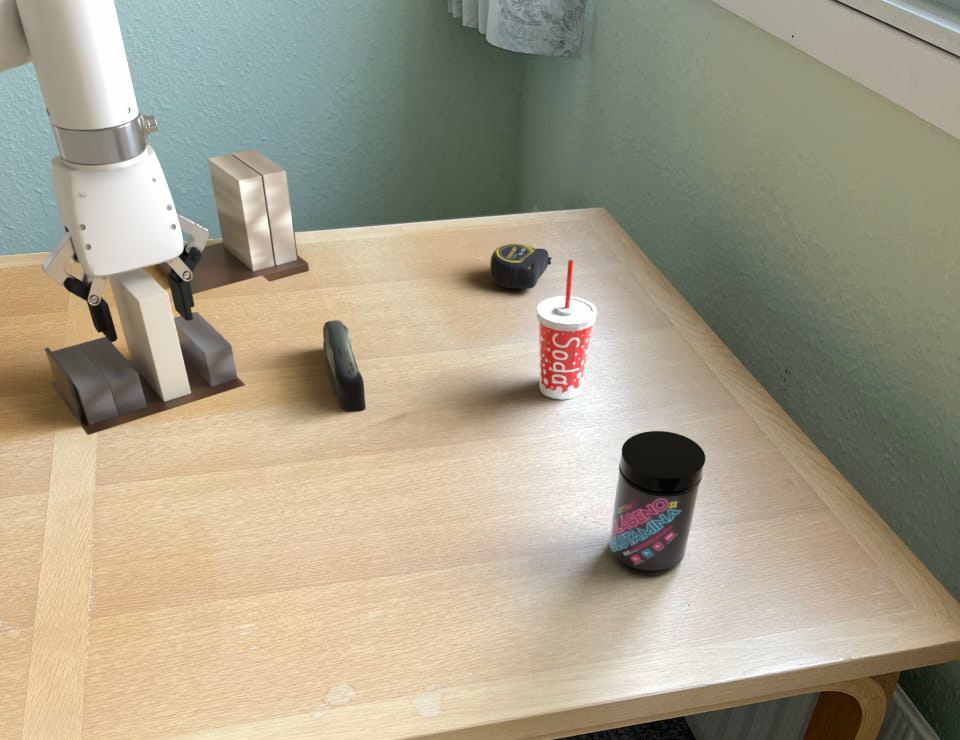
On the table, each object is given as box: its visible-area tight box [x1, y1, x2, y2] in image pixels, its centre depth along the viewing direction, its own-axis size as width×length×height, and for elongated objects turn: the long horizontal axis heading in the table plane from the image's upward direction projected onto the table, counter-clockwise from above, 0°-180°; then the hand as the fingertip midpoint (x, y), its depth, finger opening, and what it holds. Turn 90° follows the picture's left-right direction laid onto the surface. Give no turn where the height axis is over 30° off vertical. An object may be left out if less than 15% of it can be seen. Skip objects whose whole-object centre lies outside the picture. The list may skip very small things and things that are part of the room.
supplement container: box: [608, 430, 706, 576], centre depth 80 cm, size 7×7×10 cm
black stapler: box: [322, 319, 367, 413], centre depth 102 cm, size 5×3×15 cm
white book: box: [107, 268, 191, 402], centre depth 98 cm, size 3×9×11 cm, turn 35°
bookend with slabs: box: [154, 148, 310, 295], centre depth 119 cm, size 16×12×12 cm
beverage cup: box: [536, 259, 598, 401], centre depth 98 cm, size 6×6×14 cm
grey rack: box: [44, 311, 246, 436], centre depth 100 cm, size 17×12×6 cm
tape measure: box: [489, 243, 553, 289], centre depth 120 cm, size 7×7×4 cm
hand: (147, 324), depth 97 cm, fingers open, 7 cm apart
